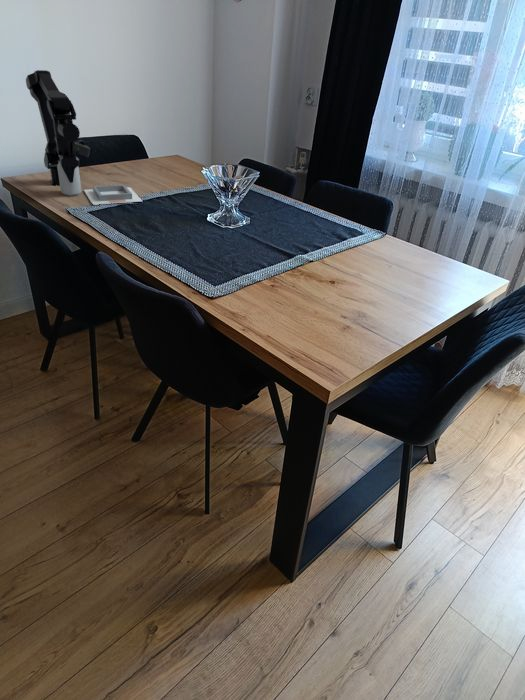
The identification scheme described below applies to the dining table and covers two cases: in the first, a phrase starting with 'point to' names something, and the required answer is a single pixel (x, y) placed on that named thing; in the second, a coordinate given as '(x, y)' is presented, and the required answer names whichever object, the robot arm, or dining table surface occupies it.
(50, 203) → the dining table surface
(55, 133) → the robot arm
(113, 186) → the collar plate
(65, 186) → the can
